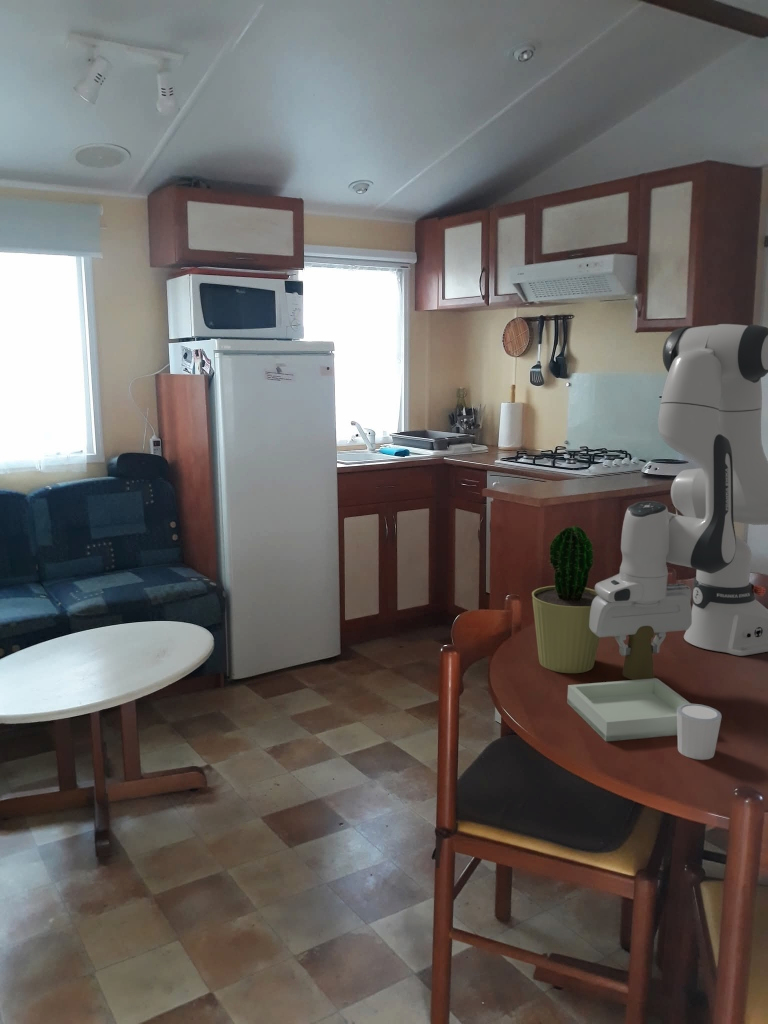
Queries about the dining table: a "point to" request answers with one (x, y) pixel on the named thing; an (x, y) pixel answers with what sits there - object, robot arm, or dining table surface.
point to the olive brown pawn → (640, 655)
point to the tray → (627, 708)
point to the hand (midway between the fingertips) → (639, 653)
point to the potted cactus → (567, 606)
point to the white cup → (697, 730)
